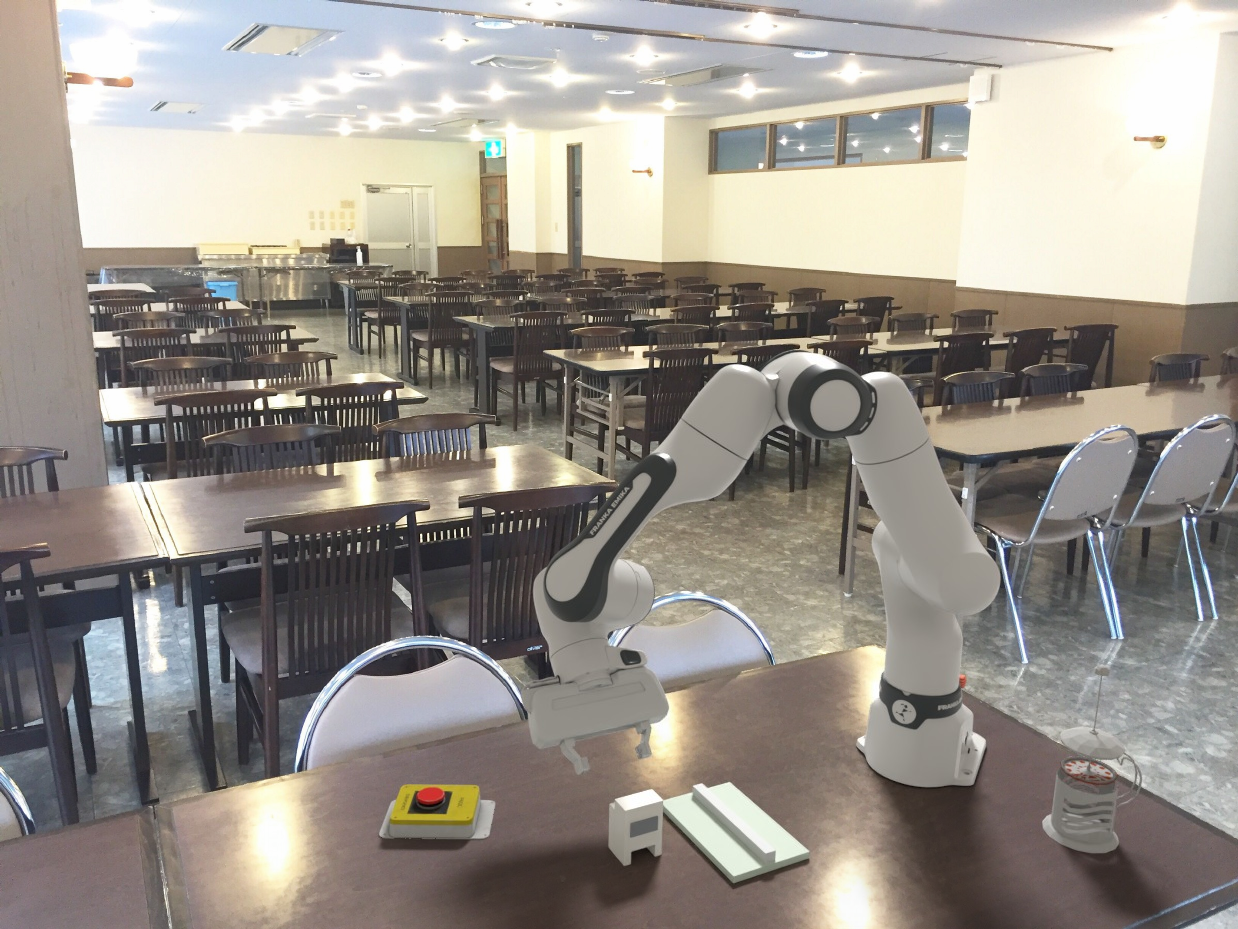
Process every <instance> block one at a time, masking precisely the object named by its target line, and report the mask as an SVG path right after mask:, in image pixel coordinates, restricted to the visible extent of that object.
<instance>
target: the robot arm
mask: <svg viewBox="0 0 1238 929" xmlns="http://www.w3.org/2000/svg"><path fill="white" fill-rule="evenodd" d="M783 425H784V426H786V427H788V428H790V429H792V430H794V431H797V432H800V433H802V434H804V435H805V436H806V437H808V438H811V439H814V440H820V441H821V440H822V441H823V440H824V441H830V440H837V439H842V438H845V439H846V440H847V442H848V445H849V446H848V447H849V449H850V452H851V454H852V458H853V460H854V462H855V466H856V468H857V472H858V473H859V476H860V479H861V481H862V484H863V487H864V490H865V493H866V494H867V495H866V496H867V498H868V500H869V503H870V505H871V507H872V509H873V511H874V512H875V513H876V514H877V516H878V518H880V521H879V522H878V524H877V525H876V526H875V528H874V530H873V532H872V537H871V550H872V552H873V555H874V557H875V559H876V562H877V565H878V569H879V573H880V581H881V589H882V593H883V594H882V595H883V603H884V609H885V610H884V611H885V619H886V642H885V643H886V644H885V656H884V657H885V658H884V670H883V671H882V673H881V674H880V680H879V684H878V685H879V686H878V687H879V688H878V689H879V693H878V698H875V700H873V701H871V702H870V705H869V710H868V718H867V724H866V729H865V730H866V731H865V734H864V735H863V736H860V737H858V738H857V740H856V745H855V746H856V747H857V748H858V750H860V751H861V752H862V753H863V754H864V756H865V759H866V762H867V763H868V765H869V766H870V767H871V769H873V770H874V772H876V773H878V774H879V775H880V776H883V777H885V778H886V779H889V780H891V781H895V782H897V783H899V784H900V783H901V784H904V785H907V786H913V787H921V788H938V787H944V786H945V787H946V786H961V787H962V786H964V787H965V786H966V787H967V786H968V787H969V786H972V785H974V784H975V780H976V777H977V775H978V771H979V769H980V766H981V763H982V760H983V756H984V753H985V750H986V747H987V741H986V739H985V738H984V737H983V736H982V735H980V734H979V733H976V732H974V731H973V727H974V726H973V725H974V713H973V712H972V711H971V709H969V708H968V706H966V705H965V704H964V703H963V691H962V689H964V688H965V687H966V684H967V679H968V678H967V675H963V674H961V667H962V666H961V665H962V656H963V645H964V638H963V632H962V630H961V626H960V624H959V623H958V619H957V616H956V615H958V616H972V615H976V614H978V613H980V612H982V611H983V610H985V609H987V607H989V606H990V604H992V602H993V601H994V600H995V598H996V597H997V595H998V593H999V589H1000V586H1001V573H1000V572H1001V571H1000V568H999V566H998V565H997V562H996V561H995V560H994V559H993V558H992V556H991V554H989V552H988V551H987V550H986V549H985V547H984V546H983V544H982V543H981V541H980V540H979V537H978V536H977V534H976V533H975V530H974V529H973V526H972V525H971V523H970V521H969V519H968V517H967V516H966V514H965V513H964V510H963V509H962V507H961V506H960V504H959V503H958V500H957V499H956V497H955V495H954V494H953V492H952V490H951V487H950V486H949V484H948V482H947V479H946V477H945V474H944V472H943V469H942V467H941V464H940V461H939V458H938V456H937V452H936V449H935V447H934V444H933V441H932V438H931V435H930V433H929V431H928V426H927V425H926V422H925V420H924V417H923V415H922V412H921V411H920V408H919V407H918V404H917V403H916V401H915V398H914V397H913V395H912V393H911V392H910V389H908V386H907V385H906V383H905V382H904V381H903V379H901V377H899V376H898V375H896V374H894V373H892V372H888V371H874V372H873V371H872V372H869V373H866V374H863V375H860V374H859V373H858V372H856V371H855V370H854V369H852V368H851V367H849V366H848V365H845V364H844V363H841V362H838V361H837V360H836V359H834V358H832V357H830V356H827V355H824V354H821V353H813V352H811V351H808V350H803V349H791V350H787V351H783V352H781V353H779V354H777V355H775V356H773V357H772V358H771V359H769V360H767V361H766V362H764V363H762V364H760V365H759V366H756V367H755V368H753V367H750V366H748V365H743V364H737V363H736V364H735V363H734V364H729V365H726V366H724V367H722V368H720V369H719V370H718V371H717V372H716V373H715V374H714V375H713V376H712V377H711V378H710V380H709V381H708V382H707V383H706V384H705V385H704V387H702V388H701V390H699V392H698V393H697V395H696V396H695V397H694V399H693V400H692V402H690V404H689V406H688V407H687V408H686V410H685V411H684V413H683V414H682V416H681V418H680V419H679V420H678V422H677V424H676V425H675V426H674V428H673V429H672V430H671V431H670V433H669V434H668V435H667V437H666V438H665V439H664V440H663V441H662V442H661V444H659V446H657V447H656V449H654V450H653V451H652V452H651V453H650V454H648V455H646V456H645V457H644V458H643V459H642V460H640V461H638V463H637V464H636V465H635V466H634V467H633V468H632V469H631V470H630V471H629V472H628V473H627V474H626V476H625V477H624V478H623V479H622V481H621V482H620V483H619V484H618V485H617V486H616V488H615V489H614V490H613V492H612V493H611V494H610V496H609V497H608V498H607V499H606V500H605V502H604V503H603V505H601V507H600V508H599V510H597V512H596V513H595V514H594V516H593V517H592V518H591V520H589V522H588V523H587V525H585V526H584V528H583V530H582V531H581V532H580V533H579V534H578V535H577V536H576V537H575V538H574V539H573V540H572V541H571V542H569V543H568V544H567V545H565V546H564V547H563V548H561V549H560V550H558V551H557V553H555V555H553V557H552V558H551V560H550V561H549V563H548V565H547V566H546V567H544V568H543V569H542V570H541V571H540V572H539V573H538V574H537V575H536V577H535V579H534V581H533V587H532V588H533V589H532V594H533V603H534V608H535V612H536V617H537V621H538V623H539V624H538V625H539V628H540V631H541V633H542V636H543V637H544V638H545V641H546V642H547V645H548V655H549V661H550V664H551V669H552V671H553V675H554V676H550V677H545V678H543V679H535V680H531V681H528V682H527V684H526V685H524V686H523V687H522V689H521V692H520V698H521V702H522V706H523V709H524V710H525V711H526V712H527V720H528V727H529V734H530V738H531V742H532V744H533V745H534V746H535V747H536V748H538V749H539V750H545V749H548V748H553V747H554V748H555V747H557V746H558V747H560V750H561V754H563V756H565V758H567V759H568V760H569V761H570V763H571V764H573V767H574V771H575V774H576V775H578V776H579V775H582V774H586V773H588V772H589V771H591V766H590V764H589V760H588V756H583V757H581V755H580V754H579V753H578V752H577V751H576V750H575V749H574V747H575V746H576V742H579V741H583V740H589V739H593V738H597V737H602V736H605V735H609V734H610V735H611V734H614V733H618V732H623V731H628V730H631V729H635V731H636V733H637V735H639V736H641V737H640V740H639V743H638V745H637V746H635V748H634V750H635V752H636V754H637V759H638V760H643V759H648V758H650V757H651V756H652V754H653V753H652V752H653V751H652V749H651V746H650V743H649V742H650V738H651V732H652V729H653V728H652V725H653V724H657V723H660V722H662V721H663V720H664V719H665V718H666V717H667V716H668V713H669V711H670V704H669V701H668V698H667V695H666V693H665V690H664V688H663V686H662V684H661V682H660V680H659V678H658V675H657V674H656V673H655V672H654V670H652V669H651V668H649V667H647V664H648V662H649V659H648V656H647V654H646V652H645V651H643V650H640V649H633V648H627V647H620V646H619V647H618V646H616V645H615V646H614V645H611V644H610V642H609V638H608V636H609V634H610V632H615V631H619V630H624V629H626V628H630V627H632V626H634V625H636V624H640V622H642V621H644V620H645V619H646V617H647V616H648V615H649V614H650V613H651V610H652V609H653V605H654V602H655V597H656V596H655V595H656V589H655V583H654V579H653V577H652V575H651V573H650V572H649V571H648V570H647V568H646V567H644V565H643V566H642V564H639V563H637V562H634V561H630V560H627V559H624V558H621V557H622V555H623V554H624V553H625V551H626V550H627V549H628V548H629V546H630V545H631V544H632V542H633V541H634V540H635V538H636V537H638V535H639V533H640V532H641V531H642V530H643V529H644V528H645V526H646V525H647V524H648V522H649V521H650V520H652V519H653V517H655V516H656V515H657V514H659V513H660V512H662V511H665V510H666V509H668V508H671V507H674V506H678V505H682V504H686V503H687V504H688V503H691V502H701V501H708V500H711V499H713V498H715V497H717V496H719V495H721V494H722V493H723V492H724V491H726V490H727V489H728V487H730V485H731V484H732V483H733V482H734V481H735V480H736V479H737V477H738V476H739V475H740V473H741V472H742V471H743V468H744V467H745V465H746V464H747V462H748V460H749V459H750V458H751V456H752V455H753V453H754V451H755V449H756V448H757V446H758V444H759V443H760V441H762V440H763V438H764V437H765V436H766V435H767V434H769V432H771V431H773V429H775V428H777V427H780V426H783Z"/></svg>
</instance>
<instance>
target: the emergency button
mask: <svg viewBox="0 0 1238 929" xmlns="http://www.w3.org/2000/svg"><path fill="white" fill-rule="evenodd" d="M494 809H495V810H496V801H495V800H491V799H490V800H489V799H481V791H480V786H479V785H476V784H417V783H415V784H408V783H407V784H403V785H402V786H401V787H400V789H399V792H398V794H397V797H396V799H393V800H392V801H391V802H390V804H389V807H388V808H387V811H386V814H385V817H384V819H383V822H382V824H381V827H380V830H379V832H378V836H379V837H380V838H381V837H382V839H394V838H405V840H406V838H409V839H410V840H411V838H422V840H423V839H424V840H486V839H487V838H489V836H490V834H491V829H492V825H491V824H493V819H494V815H493V814H495V810H494ZM435 838H436V839H435Z"/></svg>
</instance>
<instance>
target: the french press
mask: <svg viewBox="0 0 1238 929" xmlns="http://www.w3.org/2000/svg"><path fill="white" fill-rule="evenodd" d="M1093 672H1094V674H1095V675H1098V676H1100V677H1099V678H1100V680H1099V686H1098V687H1099V688H1098V694H1097V699H1096V700H1097V701H1096V709H1095V716H1094V722H1093V727H1087V726H1083V725H1081V726H1076V727H1072V728H1067V729H1064V730H1062V732H1061V733H1060V734H1059V736H1060V741H1061V744H1063V745H1064V747H1065V748H1066V749H1067V750H1068V751H1071V752H1073V753H1075V754H1076V755H1073V756H1072V755H1070V756H1067V757H1064V758H1062V760H1060V762H1059V763H1060V767H1059V768H1058V769H1057V771H1056V775H1055V784H1054V792H1053V800H1052V808H1051V813H1050V814H1048V815H1046V817H1045V818H1044V819H1042V820H1041V821H1042V823H1041V824H1042V829H1043V831H1044V832H1045V833H1046V834H1047V835H1048V836H1049V838H1051V839H1052V840H1053V841H1055V842H1057V843H1058V844H1060V845H1062V846H1064V847H1066V848H1069V849H1072V850H1074V851H1078V852H1084V853H1088V854H1106V853H1109V852H1111V851H1115V850H1116V849H1117V847H1118V846H1119V845H1120V840H1119V837H1118V835H1117V833H1116V832H1115V831H1114V827H1115V821H1116V815H1117V810H1118V809H1117V808H1119V807H1123V806H1124V805H1127V804H1129V803H1131V802H1133V800H1135V798H1136V797H1137V796H1138V795H1139V792H1140V790H1141V787H1142V784H1143V775H1142V772H1141V769H1140V767H1139V766H1138V765H1137V764H1136V763H1135V760H1134V759H1133V758H1132V756H1130V755H1129V754H1127V753H1126V747H1125V745H1124V743H1122V741H1120V740H1119V738H1117V737H1116V736H1114V735H1112V734H1110V733H1108V732H1106V731H1104V730H1103V729H1099V728H1096V725H1097V719H1098V718H1097V717H1098V712H1099V711H1098V710H1099V703H1100V697H1101V696H1100V695H1101V688H1102V682H1103V681H1102V680H1103V677H1109V676H1110V669H1109V667H1108V666H1107V665H1105V664H1098V665H1096V666H1095V667H1094V670H1093ZM1077 755H1079V756H1077ZM1123 755H1124V756H1125V757H1122V756H1123ZM1121 757H1122V758H1121ZM1120 758H1121V759H1120ZM1115 759H1116V761H1117V763H1118V764H1119V765H1120V766H1123V763H1124V760H1126V761H1128V762H1130V763H1132V764H1133V766H1134V780H1133V783H1132V785H1131V786H1130V788H1129V789H1128V791H1127V792H1125V793H1123V794H1122V795H1118V794H1119V784H1118V783H1117V784H1116V780H1117V779H1118V773H1117V772H1116V770H1115V769H1114V768H1113V767H1112V766H1110V765H1109V764H1108V763H1105V762H1104V761H1112V760H1115ZM1101 760H1102V761H1101ZM1120 760H1121V761H1120ZM1138 775H1139V783H1138V786H1137V790H1136V792H1135V793H1134V795H1133V797H1131V798H1130V799H1129V800H1127V801H1124V802H1121V803H1119V804H1117V802H1118V801H1117V800H1119V799H1122V798H1125V797H1126V796H1127V795H1129V794H1131V791H1132V790H1133V789H1134V787H1135V785H1136V783H1137V779H1138ZM1069 777H1070V779H1068V780H1066V781H1064V782H1063V781H1062V780H1064V779H1066V778H1069ZM1074 782H1082V783H1084V784H1073V785H1071V786H1070V784H1072V783H1074ZM1086 784H1089V785H1092V786H1094V787H1095V788H1097V789H1098V790H1099V791H1096V790H1095V789H1094V788H1091V787H1090V786H1087V785H1086ZM1115 785H1116V790H1115ZM1082 790H1085V792H1084V791H1082ZM1065 801H1067V803H1065ZM1092 804H1094V805H1095V806H1093V805H1092Z"/></svg>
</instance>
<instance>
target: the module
mask: <svg viewBox="0 0 1238 929" xmlns="http://www.w3.org/2000/svg"><path fill="white" fill-rule="evenodd" d="M663 800H664V799H663V798H662V797H661V796H660V795H659V794H658V793H657V792H655V790H653V789H652V788H651V789H648V790H647V789H646V790H643V791H641V792H637V793H636V792H635V793H632V794H629V795H625V796H621V797H618V798H614V802H609V804H608V805H609V806H608V808H609V809H608V849H609V850H610V851H611V852H612V853H613V855H614V856H615V857H616V858H617V859H618V860H619V862H620V863H621V864H622V865H623V867H626V866H629V865H632V852H635V851H638V850H641V849H646V848H647V850H649V851H650V853H651V854H652V855H653V856H654V857H658V856H661V855H663V854H662V851H663V821H664V820H663V818H664V816H663V815H664V812H663Z"/></svg>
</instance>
